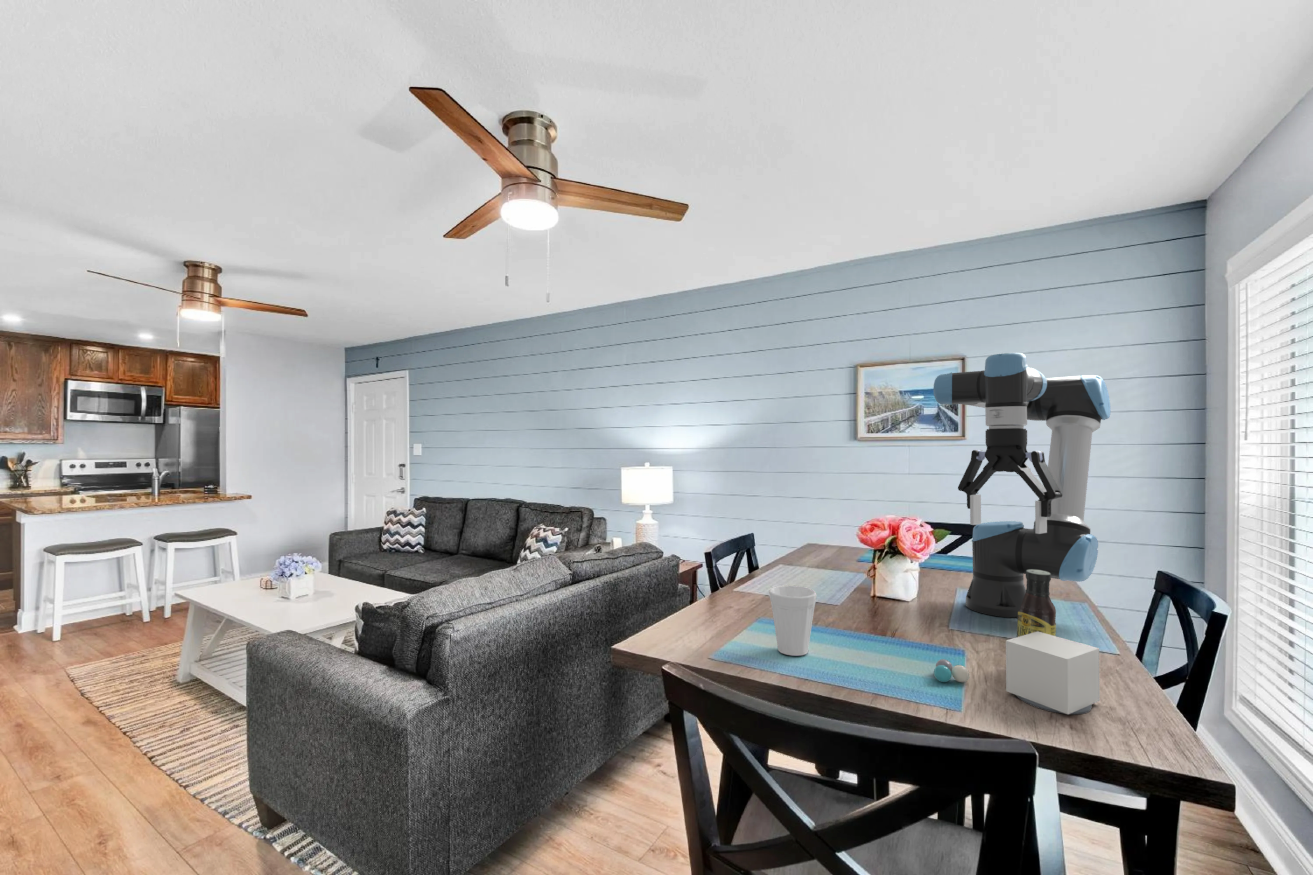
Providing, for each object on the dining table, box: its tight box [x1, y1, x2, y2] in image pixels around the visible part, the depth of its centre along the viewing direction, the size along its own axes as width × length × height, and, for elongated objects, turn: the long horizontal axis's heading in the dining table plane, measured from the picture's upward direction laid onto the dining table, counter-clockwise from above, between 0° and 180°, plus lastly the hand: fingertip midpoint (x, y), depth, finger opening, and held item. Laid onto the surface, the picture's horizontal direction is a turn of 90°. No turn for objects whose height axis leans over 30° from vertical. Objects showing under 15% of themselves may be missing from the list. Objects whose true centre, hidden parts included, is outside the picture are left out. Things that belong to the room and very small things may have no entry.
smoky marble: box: [935, 658, 954, 674], centre depth 111 cm, size 3×3×3 cm
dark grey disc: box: [1015, 695, 1093, 715], centre depth 101 cm, size 11×11×1 cm
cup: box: [768, 584, 817, 657], centre depth 124 cm, size 10×10×13 cm
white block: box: [1005, 631, 1101, 715], centre depth 101 cm, size 10×10×9 cm
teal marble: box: [933, 665, 953, 683], centre depth 108 cm, size 3×3×3 cm
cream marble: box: [951, 664, 970, 683], centre depth 108 cm, size 3×3×3 cm
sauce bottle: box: [1016, 569, 1057, 637], centre depth 112 cm, size 6×6×20 cm
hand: (1006, 528), depth 121 cm, fingers open, 13 cm apart
